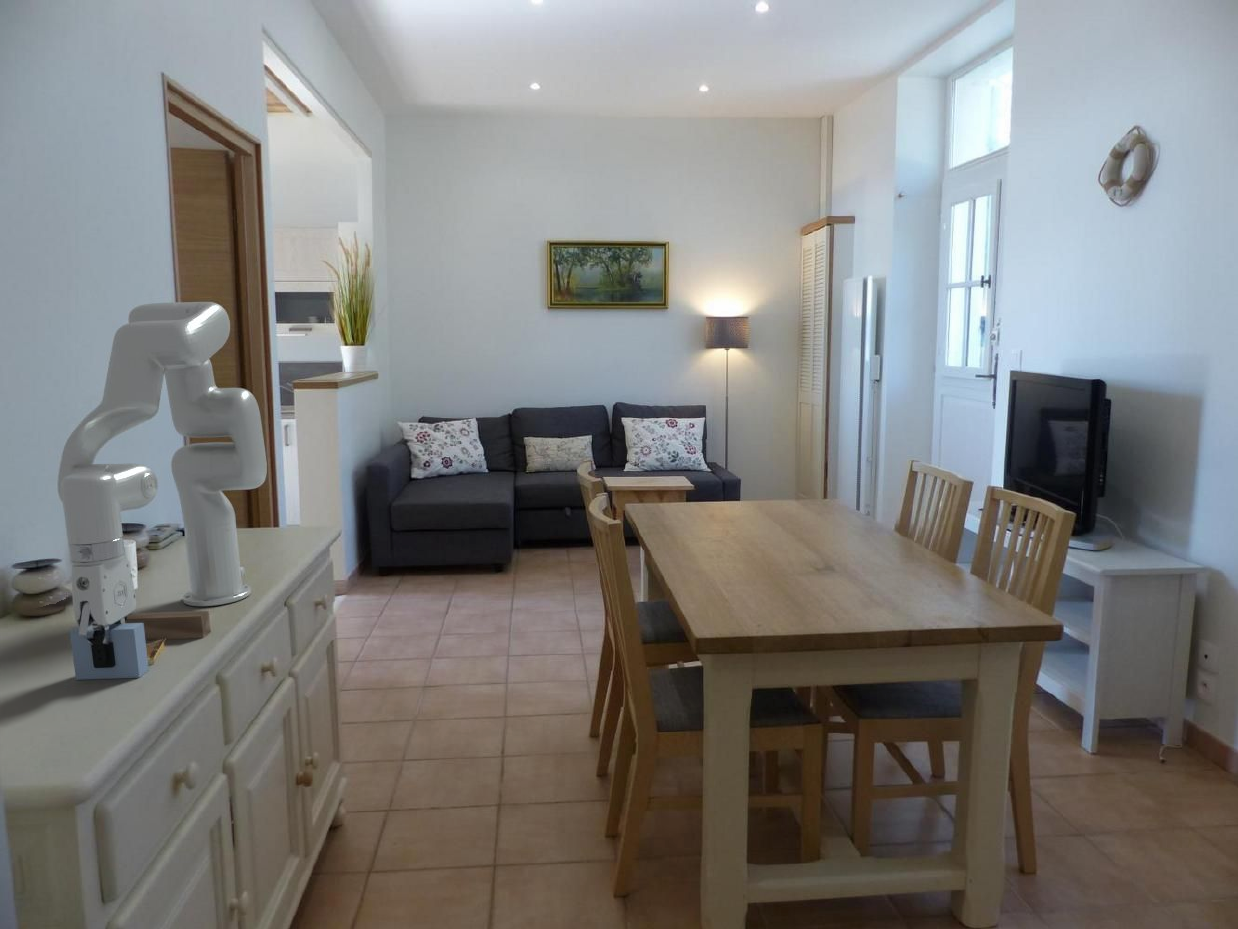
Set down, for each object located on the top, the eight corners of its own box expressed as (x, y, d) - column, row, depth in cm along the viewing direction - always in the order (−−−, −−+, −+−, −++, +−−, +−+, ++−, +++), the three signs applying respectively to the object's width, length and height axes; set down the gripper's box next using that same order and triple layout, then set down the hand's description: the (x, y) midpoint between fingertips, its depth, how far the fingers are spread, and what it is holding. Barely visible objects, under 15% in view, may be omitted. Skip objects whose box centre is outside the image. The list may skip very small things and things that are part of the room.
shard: (166, 645, 160) (165, 635, 160) (192, 653, 156) (190, 643, 155) (103, 666, 151) (102, 656, 151) (129, 675, 147) (127, 664, 147)
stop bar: (127, 634, 165) (124, 613, 164) (210, 631, 165) (208, 610, 164) (118, 640, 162) (115, 619, 161) (203, 637, 162) (201, 616, 161)
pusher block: (86, 672, 147) (80, 625, 146) (148, 670, 147) (143, 622, 146) (75, 679, 144) (69, 631, 143) (139, 677, 145) (133, 629, 143)
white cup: (103, 598, 188) (96, 551, 186) (95, 590, 194) (89, 544, 192) (145, 590, 193) (139, 544, 191) (136, 582, 199) (130, 537, 197)
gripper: (92, 563, 135) (107, 682, 138) (147, 537, 151) (159, 644, 154) (41, 565, 135) (57, 683, 138) (101, 539, 151) (114, 646, 154)
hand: (111, 661), depth 146 cm, fingers closed on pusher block, 2 cm apart
